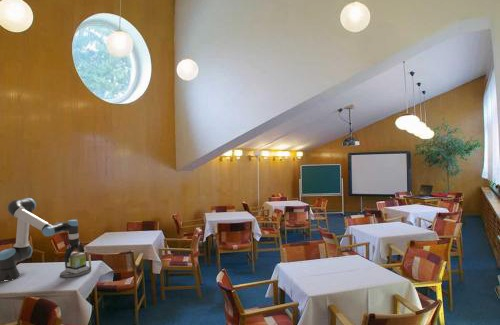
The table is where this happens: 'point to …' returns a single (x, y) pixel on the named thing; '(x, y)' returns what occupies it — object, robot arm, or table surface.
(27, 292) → the table surface
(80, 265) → the tea box
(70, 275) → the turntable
